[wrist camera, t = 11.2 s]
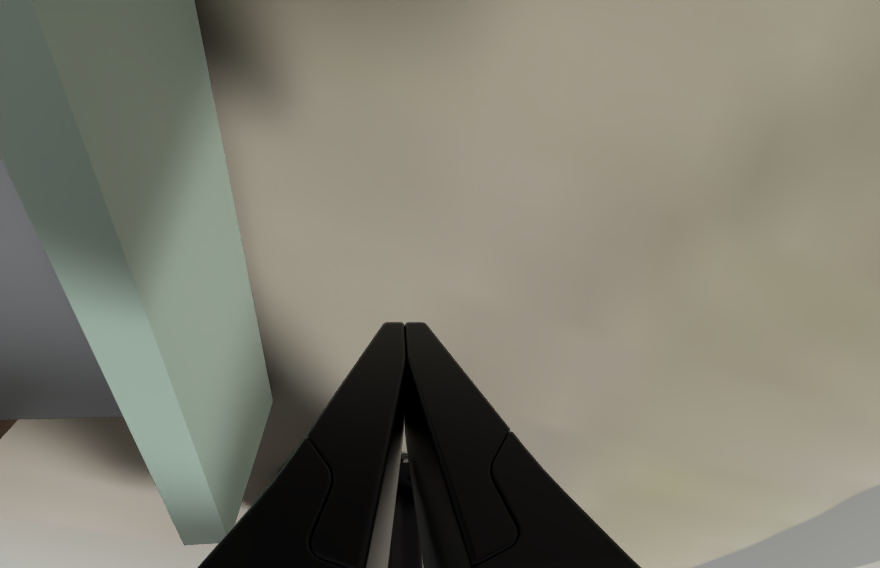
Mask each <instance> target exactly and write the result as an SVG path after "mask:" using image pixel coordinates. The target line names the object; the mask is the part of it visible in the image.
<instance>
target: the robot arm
mask: <svg viewBox="0 0 880 568" xmlns="http://www.w3.org/2000/svg"><path fill="white" fill-rule="evenodd" d="M404 426H405V437H406V445H407V453H408V460H409V463H400V459H401V451H402V443H403V432H404ZM422 559H423V560H422ZM423 566H424V568H641V567H640V566H639V565H638V564H637V563H636V562H635V561H634V560H633V559H631V558H630V557H629V556H628V555H627V554H626V553H625V552H624V551H623V550H622V549H621V548H620V547H619V546H618V545H617V544H616V543H615V542H614V541H613V540H612V539H611V538H610V537H609V536H608V535H607V534H606V533H605V532H604V531H603V530H602V529H601V528H600V527H599V526H598V525H597V524H596V523H595V522H594V521H593V520H592V519H591V518H590V517H589V516H588V515H587V513H586V512H585V511H584V510H583V509H582V508H581V507H580V506H579V505H578V504H577V503H576V502H575V501H574V500H573V499H572V498H571V497H570V496H569V495H568V494H567V493H566V492H565V491H564V490H563V489H562V488H561V487H560V486H559V485H558V484H557V483H556V482H555V481H554V480H553V479H552V478H551V476H550V475H549V474H548V473H547V472H546V471H545V470H544V469H543V468H542V467H541V466H540V464H539V463H538V462H537V461H536V460H535V459H534V457H533V456H532V455H531V454H530V453H529V451H528V450H527V449H526V448H525V447H524V446H523V444H522V443H521V442H520V441H519V439H518V438H517V437H516V435H515V434H514V433H513V432H510V428H509V427H508V426H507V424H506V423H505V422H504V421H503V419H502V418H501V417H500V416H499V414H498V413H497V412H496V411H495V409H494V408H493V407H492V406H491V404H490V403H489V402H488V401H487V399H486V398H485V397H484V396H483V394H482V393H481V392H480V391H479V389H478V388H477V387H476V386H475V384H474V383H473V382H472V381H471V379H470V378H469V377H468V376H467V374H466V373H465V372H464V371H463V369H462V368H461V367H460V366H459V364H458V363H457V362H456V361H455V359H454V358H453V357H452V356H451V354H450V353H449V352H448V351H447V349H446V348H445V347H444V346H443V345H442V343H441V342H440V341H439V340H438V338H437V337H436V336H435V335H434V333H433V332H432V331H431V330H430V328H429V327H428V326H427V325H426V324H425V323H423V322H408V323H406V324H405V326H404V324H403V323H401V322H386V323H384V324H383V325H382V326H381V328H380V329H379V331H378V332H377V334H376V335H375V336H374V338H373V339H372V341H371V342H370V344H369V345H368V347H367V348H366V349H365V351H364V352H363V354H362V355H361V357H360V358H359V360H358V361H357V362H356V364H355V365H354V367H353V368H352V370H351V371H350V372H349V374H348V375H347V377H346V378H345V380H344V381H343V383H342V384H341V385H340V387H339V388H338V390H337V391H336V393H335V394H334V396H333V397H332V398H331V400H330V401H329V403H328V404H327V406H326V407H325V408H324V410H323V411H322V413H321V414H320V416H319V417H318V419H317V420H316V421H315V423H314V424H313V426H312V427H311V429H310V430H309V432H308V433H307V434H306V438H304V439H303V440H302V441H301V443H300V444H299V446H298V447H297V448H296V450H295V451H294V453H293V454H292V456H291V457H290V458H289V460H288V461H287V462H286V464H285V465H284V466H283V468H282V469H280V470H279V471H278V473H277V476H276V477H275V479H274V480H273V481H272V482H271V484H270V485H269V486H268V487H267V488H266V490H265V491H264V492H263V493H262V494H261V495H260V497H259V498H258V499H257V500H256V501H255V503H254V504H253V505H252V506H251V507H250V509H249V510H248V511H247V512H246V513H245V514H244V515H243V517H242V518H241V519H240V520H239V521H238V522H237V523H236V525H235V526H234V527H233V528H232V529H231V530H230V531H229V533H228V534H227V535H226V536H225V537H224V538H223V539H222V541H221V542H220V543H219V544H218V545H217V546H216V547H215V549H214V550H213V551H212V552H211V553H210V554H209V555H208V556H207V558H206V559H205V560H204V561H203V562H202V563H201V564H200V566H199V567H198V568H423Z"/></svg>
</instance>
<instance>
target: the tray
mask: <svg viewBox="0 0 880 568" xmlns="http://www.w3.org/2000/svg"><path fill="white" fill-rule="evenodd" d="M272 403H273V399H272V394H271V389H270V384H269V379H268V374H267V369H266V364H265V358H264V353H263V348H262V343H261V338H260V333H259V328H258V323H257V318H256V312H255V307H254V302H253V297H252V292H251V287H250V282H249V277H248V272H247V266H246V261H245V256H244V251H243V246H242V241H241V236H240V231H239V226H238V221H237V215H236V210H235V205H234V200H233V195H232V190H231V185H230V180H229V175H228V169H227V164H226V159H225V154H224V149H223V144H222V139H221V134H220V129H219V123H218V118H217V113H216V108H215V103H214V98H213V93H212V88H211V83H210V77H209V72H208V67H207V62H206V57H205V52H204V47H203V42H202V37H201V31H200V26H199V21H198V16H197V11H196V6H195V1H194V0H0V420H8V419H52V418H96V417H124V419H125V421H126V423H127V425H128V427H129V430H130V432H131V434H132V436H133V438H134V440H135V442H136V444H137V446H138V449H139V451H140V453H141V455H142V457H143V459H144V461H145V463H146V466H147V468H148V470H149V472H150V474H151V476H152V478H153V480H154V483H155V485H156V487H157V489H158V491H159V493H160V495H161V497H162V499H163V502H164V504H165V506H166V508H167V510H168V512H169V514H170V516H171V519H172V521H173V523H174V525H175V527H176V529H177V531H178V533H179V535H180V538H181V540H182V542H183V544H184V545H194V544H212V543H220V542H221V541H222V539H223V538H224V537H225V536H226V535H227V534H228V533H229V531H230V530H231V529H232V528H233V527H234V525H235V522H236V519H237V516H238V513H239V509H240V506H241V503H242V500H243V496H244V493H245V490H246V487H247V484H248V480H249V477H250V474H251V471H252V467H253V464H254V461H255V458H256V455H257V451H258V448H259V445H260V442H261V439H262V435H263V432H264V429H265V426H266V422H267V419H268V416H269V413H270V410H271V406H272Z"/></svg>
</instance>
